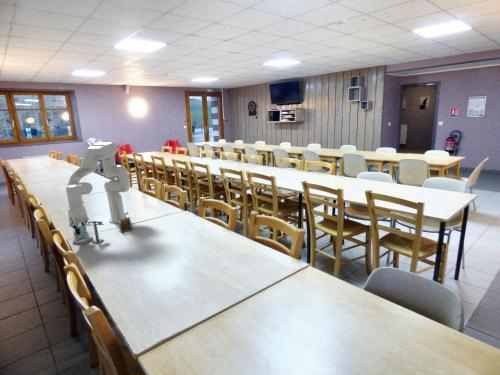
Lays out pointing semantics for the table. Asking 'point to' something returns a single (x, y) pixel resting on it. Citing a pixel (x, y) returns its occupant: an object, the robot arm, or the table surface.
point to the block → (82, 229)
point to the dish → (83, 240)
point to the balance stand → (96, 235)
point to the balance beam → (93, 223)
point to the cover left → (125, 225)
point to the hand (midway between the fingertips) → (81, 232)
